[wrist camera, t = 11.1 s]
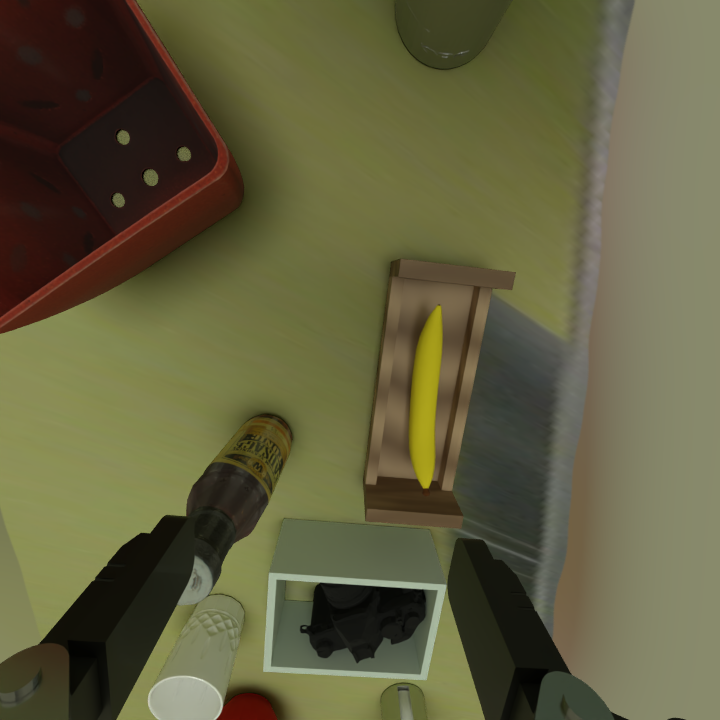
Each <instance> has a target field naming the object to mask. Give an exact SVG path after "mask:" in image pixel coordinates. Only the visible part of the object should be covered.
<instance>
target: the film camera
mask: <svg viewBox="0 0 720 720" xmlns="http://www.w3.org/2000/svg"><path fill="white" fill-rule="evenodd" d="M425 602H426V598H425V595H424V590H423V589H411V588H396V587H381V586H366V585H351V584H337V583H322V582H320V584H318V585H317V586H316V588H315V591H314V599H313V608H312V617H311V625H309V626H307V625H302V626H300V632H301V633H303V634H304V633H306V634H308V635H309V641H310V644H311V645H312V647H313V649H314V650H316V652H317V655H318V657H321V658H328V657H330V656H331V654H332V653H333V651H337V650H342V649H345V648H348V649H349V651H350V652H351V653H352V655H353V657H354V659H355V661H356V663H359V661H361V660H363V659H367V658H370V657H371V659H372V658H375V656H374V655H375V652H376V650H377V649H378V647H379V646H380V644H381V643H382V641H383V637H384V638H387V639H391V645H394V644H398V643H400V642H403V641H406V640H408V639H409V638H411V636H412V635H413V633H414V632H415V630H416V628H417V626H418V625H419V624H420V623H421V622H422V621H423V620H424V618H425V616H426V614H425V610H426V609H425ZM302 627H306V629H302Z"/></svg>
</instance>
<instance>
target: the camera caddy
mask: <svg viewBox="0 0 720 720" xmlns="http://www.w3.org/2000/svg"><path fill="white" fill-rule="evenodd" d="M286 580H292V581H307V582H322V583H337V584H351V585H366V586H381V587H396V588H411V589H423V590H424V595H425V598H426V602H425V609H426V610H425V614H426V616H425V618H424V620H423V621H422V622H421V623H420V624H419V625H418V626H417V628H416V630H415V632H414V633H413V635H412V636H411V638H409V639H408V640H406V641H403V642H400V643H398V644H394V645H391V639H387V638H384V637H383V641H382V643H381V644H380V646H379V647H378V649H377V650H376V652H375V655H374V656H375V658H372V659H371V657H370V658H367V659H363V660H361V661H359V663H356V661H355V659H354V657H353V655H352V653H351V652H350V651H349V649H348V648H345V649H342V650H337V651H333V653H332V654H331V656H330V657H328V658H321V657H318V655H317V652H316V650H314V649H313V647H312V645H311V644H310V641H309V635H308V634H306V633H304V634H303V633H301V632H300V626H302V625H307V626H309V625H311V617H312V608H313V602H306V601H290V600H284V599H285V585H286ZM446 585H447V584H446V581H445V578H444V575H443V571H442V568H441V565H440V562H439V558H438V555H437V552H436V549H435V545H434V542H433V539H432V536H431V533H430V530H428V529H415V528H402V527H389V526H376V525H363V524H350V523H337V522H324V521H311V520H298V519H284V520H283V524H282V527H281V531H280V535H279V538H278V542H277V545H276V549H275V553H274V556H273V560H272V564H271V567H270V571H269V582H268V599H267V617H266V634H265V651H264V668H263V672H282V673H301V674H319V675H338V676H357V677H376V678H395V679H414V680H426V679H427V675H428V670H429V665H430V661H431V656H432V651H433V647H434V642H435V637H436V632H437V628H438V623H439V618H440V614H441V609H442V604H443V600H444V595H445V590H446ZM302 629H306V627H302Z"/></svg>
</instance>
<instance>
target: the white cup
mask: <svg viewBox="0 0 720 720" xmlns="http://www.w3.org/2000/svg"><path fill="white" fill-rule="evenodd" d="M244 613H245V612H244V610H243V608H242V606H241V604H240V603H239V602H237V601H236V600H235V599H233V598H232V597H229V596H225V595H221V594H219V595H210V596H208V597H206V598H204V599H203V600H202V601H200V602H199V603H198V604H197V606H196V607H195V609H194V611H193V613H192V615H191V617H190V619H189V621H188V622H187V623H186V625H185V626H184V628H183V630H182V632H181V634H180V635H179V637H178V639H177V641H176V643H175V645H174V646H173V648H172V650H171V652H170V654H169V656H168V658H167V660H166V662H165V664H164V666H163V668H162V669H161V671H160V673H159V675H158V677H157V679H156V681H155V683H154V685H153V687H152V688H151V690H150V692H149V695H148V706H149V709H150V711H151V712H152V714H153V715H154V716H155V717H156V718H157V719H158V720H216V719H217V718H218V717H219V715H220V714H221V711H222V708H223V704H224V701H225V697H226V693H227V689H228V685H229V681H230V677H231V674H232V670H233V666H234V662H235V658H236V654H237V649H238V645H239V641H240V634H241V631H242V627H243V623H244Z"/></svg>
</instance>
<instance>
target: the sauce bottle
mask: <svg viewBox="0 0 720 720" xmlns="http://www.w3.org/2000/svg"><path fill="white" fill-rule="evenodd" d="M291 443H292V435H291V432H290V429H289V428H288V426H287V424H285V422H284V421H283V420H281V419H279V418H277V417H274V416H270V415H266V414H265V415H260V416H256V417H254V418H252V419H250V420H248V421H247V422H246V423H245V424H243V425H242V426H241V428H240V429H239V430H238V431H237V432H236V434H235V435H234V436H233V437H232V438H231V440H230V441H229V442H228V443H227V444H226V446H225V447H224V448H223V449H222V450H221V452H220V453H219V454H218V455H217V456H216V458H215V459H214V460H213V461H212V462H211V464H210V465H209V466H208V467H207V468H206V470H205V471H204V474H203V475H202V476H201V477H200V478H199V479H198V481H197V482H196V483H195V484H194V485H193V487H192V489H191V492H190V494H189V497H188V499H187V509H186V516H187V517H193V518H194V535H195V560H194V567H193V571H192V574H191V577H190V580H189V582H188V584H187V586H186V588H185V590H184V592H183V594H182V596H181V598H180V600H179V602H178V603H177V605H191V604H196V603H198V602H200V601H202V600H203V599H204V598H206V597H207V596H208V595H209V593H210V592H211V591H212V589H213V587H214V585H215V584H216V582H217V580H218V578H219V576H220V574H221V566H222V564H223V561H224V559H225V556H226V555H227V553H228V551H229V549H230V548H231V547H232V545H233V544H234V543H235V542H237V541H239V540H240V539H242V538H244V537H246V536H248V535H249V534H250V533H251V532H252V531H253V529H254V528H255V526H256V524H257V522H258V520H259V519H260V517H261V515H262V513H263V512H264V510H265V508H266V506H267V505H268V503H269V501H270V498H271V496H272V494H273V491H274V489H275V487H276V484H277V482H278V480H279V477H280V475H281V473H282V470H283V468H284V466H285V463H286V461H287V459H288V456H289V454H290V451H291Z"/></svg>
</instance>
